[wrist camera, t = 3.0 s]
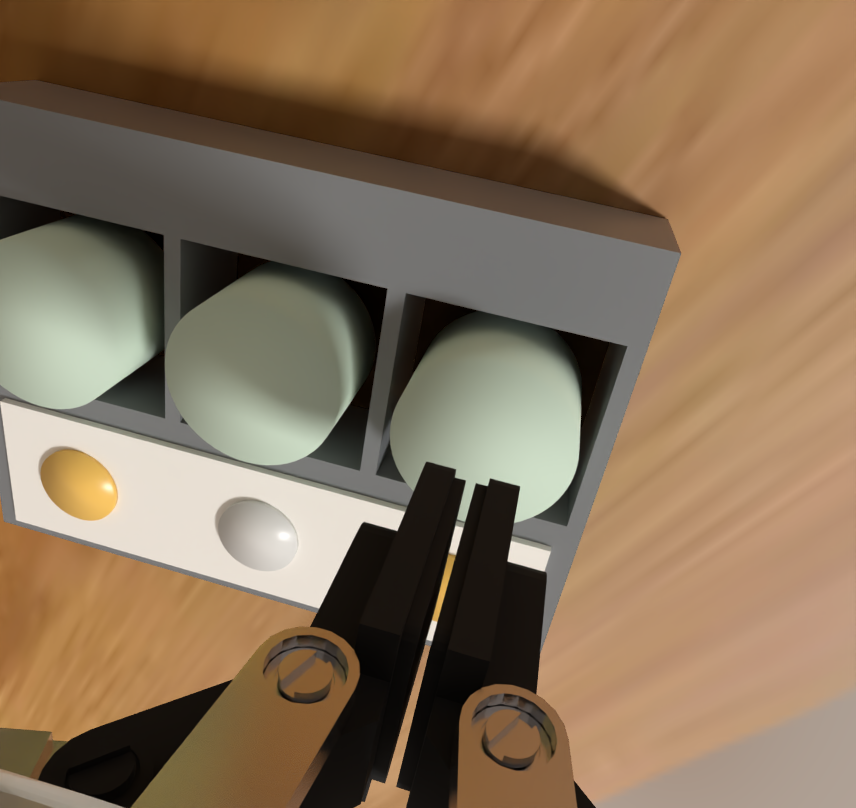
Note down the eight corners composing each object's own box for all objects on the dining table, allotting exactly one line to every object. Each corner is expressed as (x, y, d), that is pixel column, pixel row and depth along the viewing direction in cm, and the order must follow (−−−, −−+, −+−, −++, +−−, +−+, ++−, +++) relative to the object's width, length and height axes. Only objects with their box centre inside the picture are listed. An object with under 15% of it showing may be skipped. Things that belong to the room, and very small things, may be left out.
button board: (35, 79, 18) (-74, 87, 15) (668, 219, 16) (683, 258, 13) (69, 468, 24) (-5, 528, 21) (540, 600, 22) (531, 686, 19)
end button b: (434, 291, 17) (405, 337, 14) (602, 331, 16) (603, 386, 14) (408, 434, 19) (378, 498, 16) (558, 473, 18) (551, 545, 16)
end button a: (35, 196, 18) (-61, 222, 15) (183, 231, 18) (110, 265, 15) (49, 340, 20) (-35, 385, 17) (182, 375, 19) (118, 427, 17)
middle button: (228, 242, 17) (164, 278, 15) (386, 280, 17) (347, 323, 14) (223, 385, 19) (165, 440, 17) (364, 422, 19) (327, 484, 16)
